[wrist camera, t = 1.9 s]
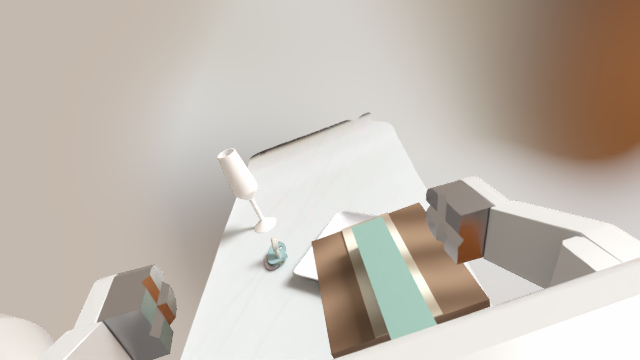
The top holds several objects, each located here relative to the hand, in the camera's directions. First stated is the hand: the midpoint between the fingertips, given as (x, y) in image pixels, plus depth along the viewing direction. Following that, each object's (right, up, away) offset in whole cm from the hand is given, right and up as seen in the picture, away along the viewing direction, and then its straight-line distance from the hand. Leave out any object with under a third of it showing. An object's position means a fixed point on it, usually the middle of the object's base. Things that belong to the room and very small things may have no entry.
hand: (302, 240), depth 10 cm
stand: (+16, -28, +38) cm, 49 cm away
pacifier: (-10, -18, +72) cm, 74 cm away
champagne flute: (-15, -11, +86) cm, 88 cm away
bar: (+8, -10, +19) cm, 23 cm away
